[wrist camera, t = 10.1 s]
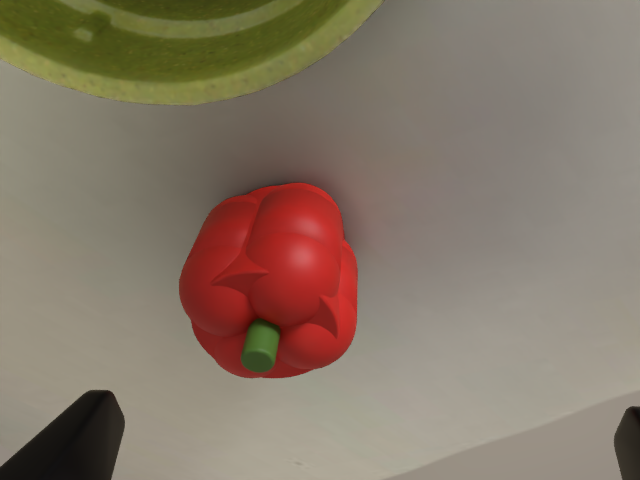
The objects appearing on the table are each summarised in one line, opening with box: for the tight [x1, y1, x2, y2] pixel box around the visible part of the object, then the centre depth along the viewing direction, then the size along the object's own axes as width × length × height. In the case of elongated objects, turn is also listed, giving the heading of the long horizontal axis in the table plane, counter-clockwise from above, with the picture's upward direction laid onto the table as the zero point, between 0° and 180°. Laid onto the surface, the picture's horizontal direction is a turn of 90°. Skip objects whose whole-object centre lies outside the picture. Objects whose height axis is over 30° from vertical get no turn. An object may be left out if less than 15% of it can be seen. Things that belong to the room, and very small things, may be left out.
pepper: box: [179, 183, 358, 378], centre depth 17 cm, size 6×6×7 cm
